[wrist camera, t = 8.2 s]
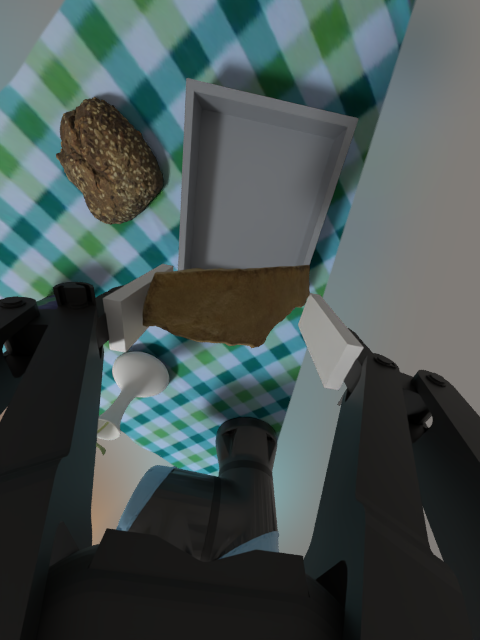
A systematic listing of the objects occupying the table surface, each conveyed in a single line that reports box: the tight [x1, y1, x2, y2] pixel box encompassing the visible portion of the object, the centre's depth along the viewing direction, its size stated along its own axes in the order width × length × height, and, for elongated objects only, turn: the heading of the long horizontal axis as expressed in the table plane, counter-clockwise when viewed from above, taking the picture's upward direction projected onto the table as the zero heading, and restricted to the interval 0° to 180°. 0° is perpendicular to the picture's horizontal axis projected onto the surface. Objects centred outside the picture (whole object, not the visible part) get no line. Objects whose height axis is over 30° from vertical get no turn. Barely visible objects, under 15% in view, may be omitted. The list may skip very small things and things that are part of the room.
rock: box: [142, 265, 310, 348], centre depth 14 cm, size 11×9×10 cm
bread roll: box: [56, 97, 163, 225], centre depth 25 cm, size 13×12×5 cm
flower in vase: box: [96, 352, 169, 455], centre depth 32 cm, size 13×11×25 cm
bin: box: [178, 78, 359, 309], centre depth 27 cm, size 22×18×4 cm
